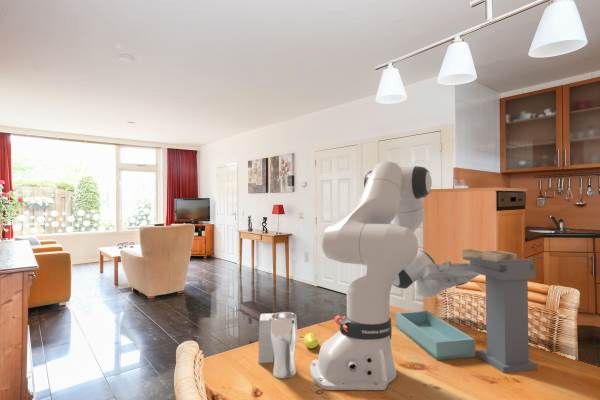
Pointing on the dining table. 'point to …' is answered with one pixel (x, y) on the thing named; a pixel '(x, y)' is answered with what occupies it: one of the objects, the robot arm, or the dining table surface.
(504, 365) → the chute stand
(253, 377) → the dining table surface
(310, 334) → the lemon
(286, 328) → the beer glass
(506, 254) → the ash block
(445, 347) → the teal bin
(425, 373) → the dining table surface
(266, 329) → the skincare box
